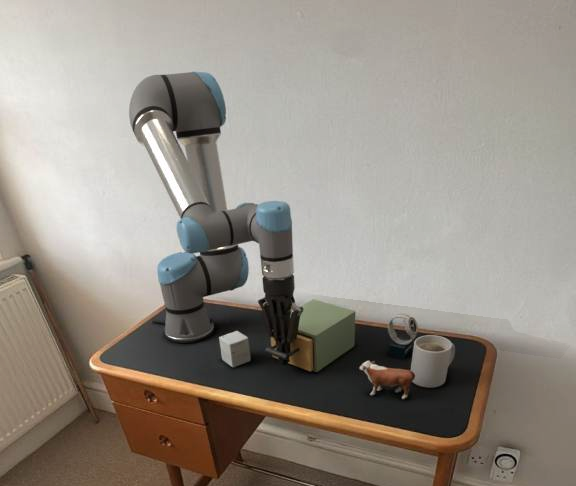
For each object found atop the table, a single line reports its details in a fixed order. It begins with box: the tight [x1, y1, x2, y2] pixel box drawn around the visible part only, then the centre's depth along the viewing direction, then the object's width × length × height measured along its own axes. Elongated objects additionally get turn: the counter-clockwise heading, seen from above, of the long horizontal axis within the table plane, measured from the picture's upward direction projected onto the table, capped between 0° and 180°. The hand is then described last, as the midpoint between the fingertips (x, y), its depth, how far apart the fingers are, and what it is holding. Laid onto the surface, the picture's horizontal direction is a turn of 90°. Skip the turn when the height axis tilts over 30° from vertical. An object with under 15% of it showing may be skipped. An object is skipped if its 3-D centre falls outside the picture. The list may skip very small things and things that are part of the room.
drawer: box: [264, 330, 314, 372], centre depth 126 cm, size 22×14×9 cm, turn 139°
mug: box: [410, 334, 456, 388], centre depth 116 cm, size 11×10×10 cm
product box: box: [218, 330, 252, 368], centre depth 129 cm, size 6×6×7 cm
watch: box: [387, 313, 419, 360], centre depth 126 cm, size 6×8×11 cm
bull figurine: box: [359, 360, 415, 400], centre depth 112 cm, size 4×13×8 cm, turn 69°
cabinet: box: [290, 298, 357, 373], centre depth 130 cm, size 18×15×11 cm
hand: (284, 362), depth 123 cm, fingers closed
